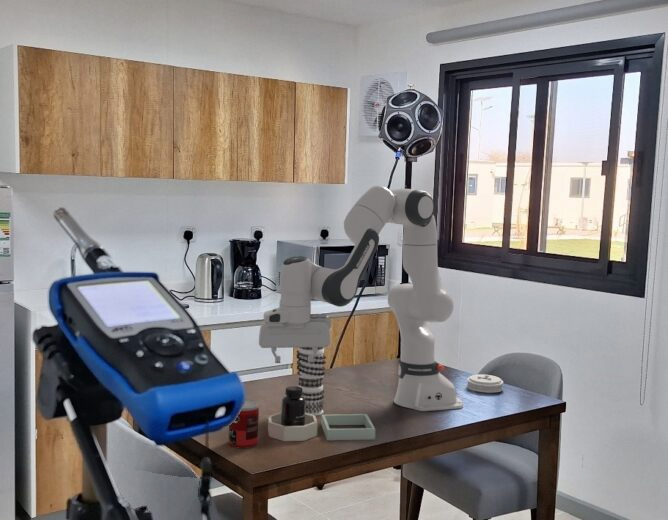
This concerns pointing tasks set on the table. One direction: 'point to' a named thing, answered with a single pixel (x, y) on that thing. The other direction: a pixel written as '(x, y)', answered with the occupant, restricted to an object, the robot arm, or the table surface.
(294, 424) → the supplement bottle
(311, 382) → the decorative candle
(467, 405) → the table surface
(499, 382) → the lid
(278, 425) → the bowl
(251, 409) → the canned food
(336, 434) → the tray
